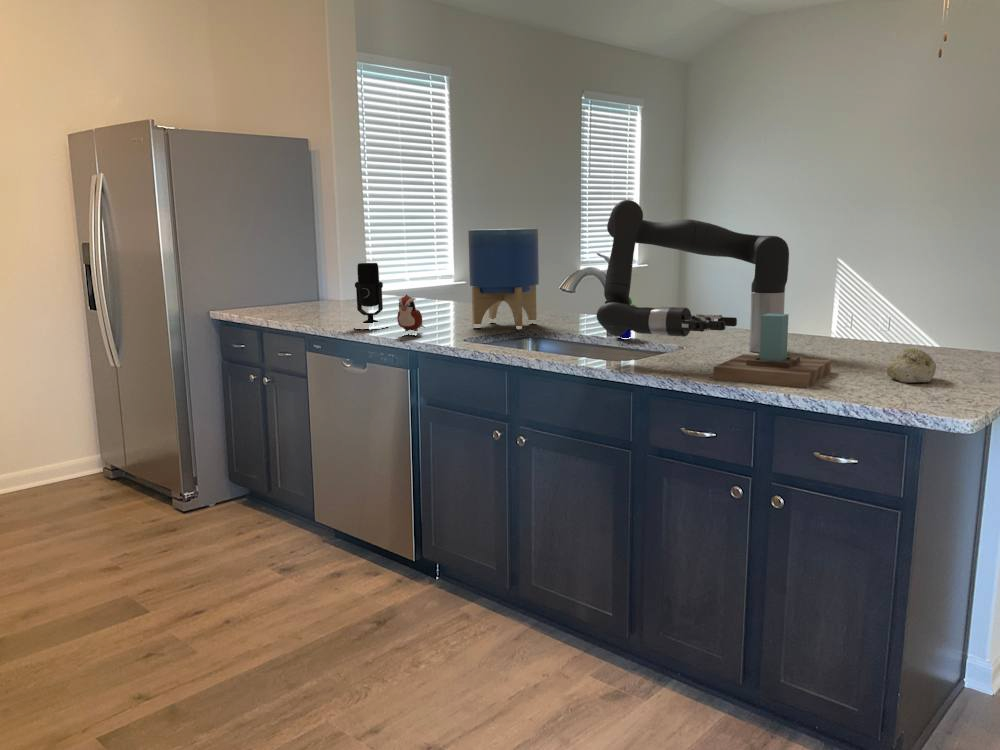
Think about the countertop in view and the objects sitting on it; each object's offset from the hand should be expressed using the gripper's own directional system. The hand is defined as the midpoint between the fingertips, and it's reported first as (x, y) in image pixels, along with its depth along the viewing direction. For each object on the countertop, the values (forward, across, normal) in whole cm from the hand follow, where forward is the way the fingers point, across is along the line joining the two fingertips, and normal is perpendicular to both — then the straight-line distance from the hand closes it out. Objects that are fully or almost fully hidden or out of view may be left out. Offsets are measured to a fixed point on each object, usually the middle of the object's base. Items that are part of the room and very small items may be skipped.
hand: (730, 323), depth 202 cm
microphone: (-152, +30, +11) cm, 155 cm away
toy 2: (-51, +43, +12) cm, 68 cm away
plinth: (+11, 0, +12) cm, 16 cm away
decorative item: (+40, +9, +13) cm, 43 cm away
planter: (-106, +55, +12) cm, 120 cm away
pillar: (+11, 0, +9) cm, 14 cm away
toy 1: (-122, +19, +12) cm, 124 cm away
